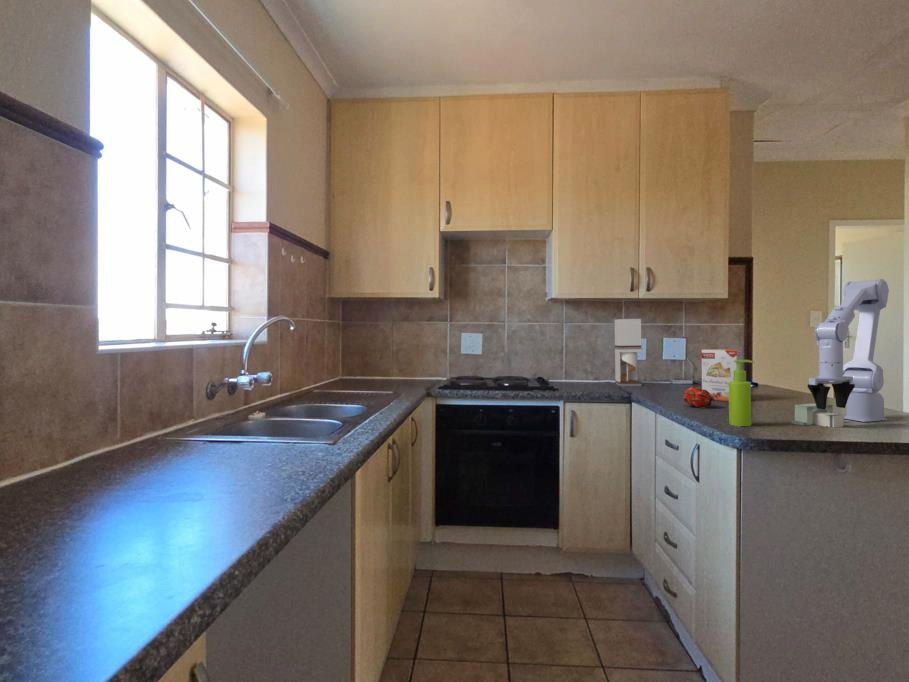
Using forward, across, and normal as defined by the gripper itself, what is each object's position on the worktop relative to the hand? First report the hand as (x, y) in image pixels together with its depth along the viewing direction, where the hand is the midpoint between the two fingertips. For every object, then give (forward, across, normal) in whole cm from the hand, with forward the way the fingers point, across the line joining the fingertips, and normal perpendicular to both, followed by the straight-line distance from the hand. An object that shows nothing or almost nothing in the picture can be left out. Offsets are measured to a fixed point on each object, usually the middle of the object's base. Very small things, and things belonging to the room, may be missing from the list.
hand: (831, 408), depth 147 cm
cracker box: (+6, -12, -54) cm, 56 cm away
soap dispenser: (+6, +22, -10) cm, 25 cm away
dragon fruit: (+6, +9, -44) cm, 45 cm away
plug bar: (+5, 0, -3) cm, 6 cm away
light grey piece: (+5, -11, -118) cm, 118 cm away
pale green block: (+5, 0, -6) cm, 8 cm away
